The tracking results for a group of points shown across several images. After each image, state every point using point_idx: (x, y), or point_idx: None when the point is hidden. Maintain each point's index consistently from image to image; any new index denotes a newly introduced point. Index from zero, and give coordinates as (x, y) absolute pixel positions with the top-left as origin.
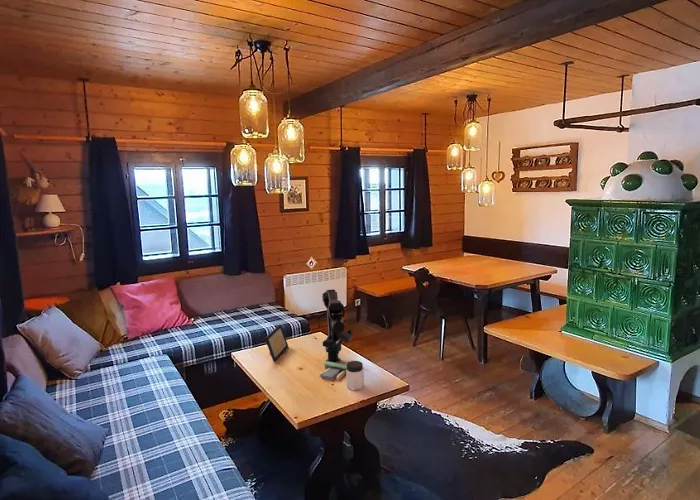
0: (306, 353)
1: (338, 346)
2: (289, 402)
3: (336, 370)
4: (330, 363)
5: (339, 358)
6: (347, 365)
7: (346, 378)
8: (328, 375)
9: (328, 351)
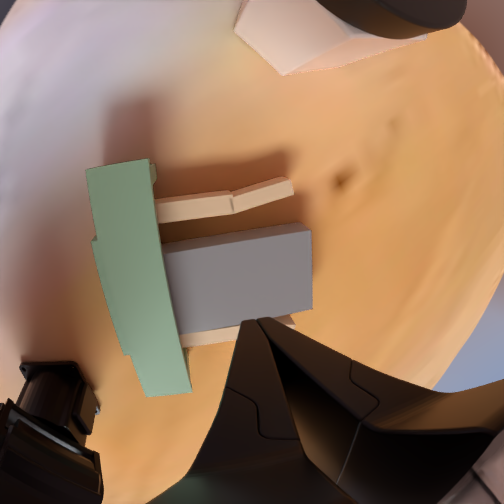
0: (115, 486)
1: (376, 401)
2: (499, 252)
3: (192, 269)
4: (159, 363)
5: (25, 372)
6: (462, 12)
7: (378, 53)
8: (298, 264)
9: (84, 450)
